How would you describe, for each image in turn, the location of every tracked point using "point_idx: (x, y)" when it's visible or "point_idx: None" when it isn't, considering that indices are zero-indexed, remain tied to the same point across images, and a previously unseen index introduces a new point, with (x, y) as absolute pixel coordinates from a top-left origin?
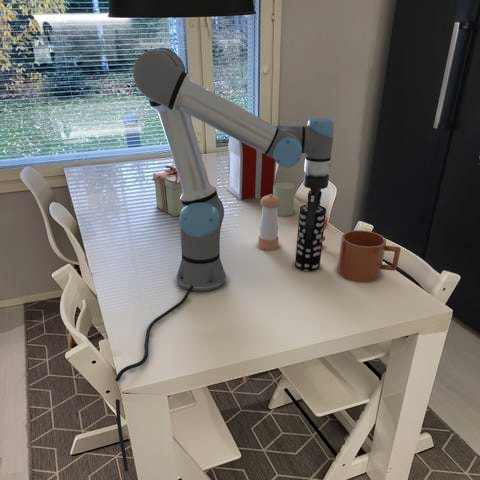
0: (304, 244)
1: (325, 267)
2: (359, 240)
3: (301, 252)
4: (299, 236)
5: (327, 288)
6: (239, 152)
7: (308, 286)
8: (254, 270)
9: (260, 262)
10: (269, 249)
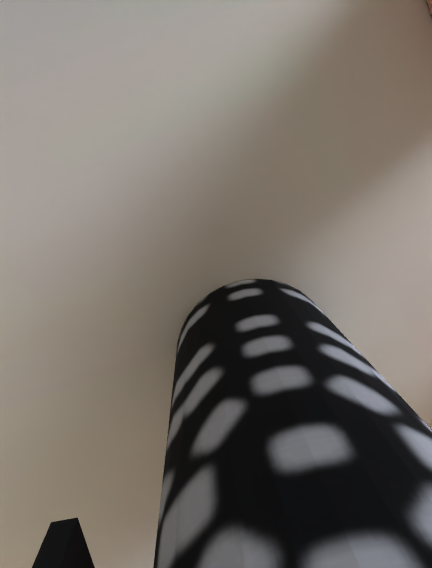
0: (39, 557)
1: None
2: None
3: (173, 401)
4: (194, 475)
5: (43, 512)
6: None
7: (6, 432)
8: (10, 33)
9: (168, 24)
10: (428, 4)
